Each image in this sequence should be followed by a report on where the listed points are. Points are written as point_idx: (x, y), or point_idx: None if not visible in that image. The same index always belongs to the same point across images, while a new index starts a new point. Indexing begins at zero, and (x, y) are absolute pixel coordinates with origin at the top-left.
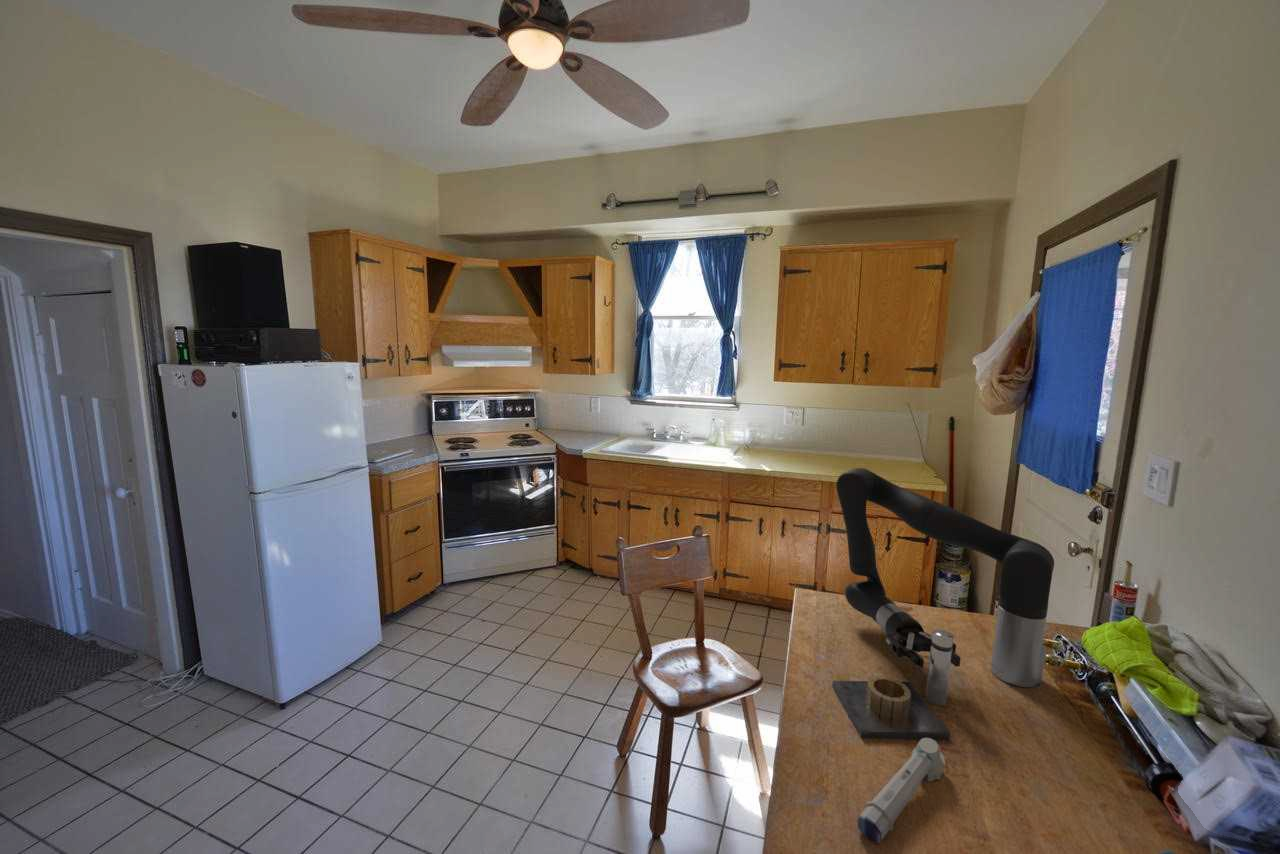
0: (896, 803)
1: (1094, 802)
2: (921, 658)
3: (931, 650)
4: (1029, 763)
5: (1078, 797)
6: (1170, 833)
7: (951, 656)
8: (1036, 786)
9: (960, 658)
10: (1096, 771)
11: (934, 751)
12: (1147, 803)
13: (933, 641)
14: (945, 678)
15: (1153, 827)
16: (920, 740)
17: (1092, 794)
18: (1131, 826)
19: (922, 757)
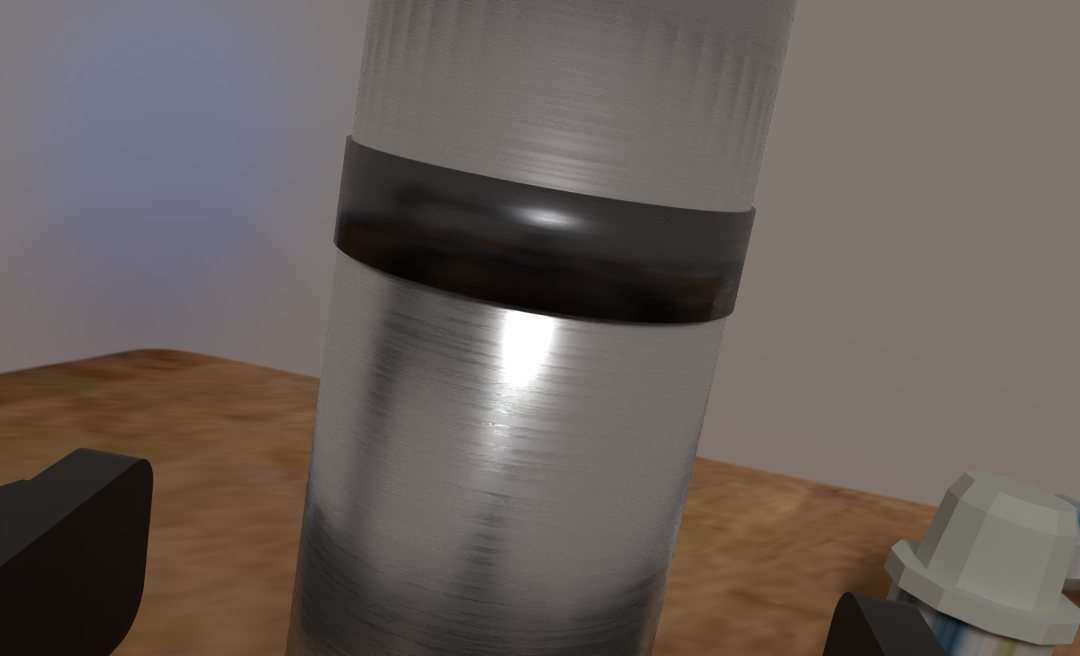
0: None
1: (263, 427)
2: (884, 601)
3: (701, 421)
4: None
5: (300, 445)
6: (160, 356)
7: (59, 588)
8: None
9: (27, 481)
10: (8, 447)
11: (995, 475)
12: (51, 380)
13: (756, 179)
14: None
15: (185, 370)
16: (1064, 511)
17: (219, 433)
18: (257, 386)
19: (1065, 496)
